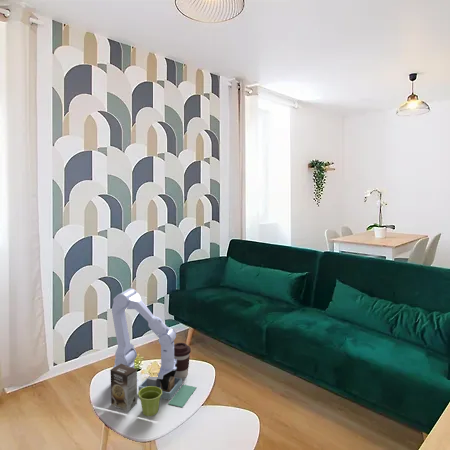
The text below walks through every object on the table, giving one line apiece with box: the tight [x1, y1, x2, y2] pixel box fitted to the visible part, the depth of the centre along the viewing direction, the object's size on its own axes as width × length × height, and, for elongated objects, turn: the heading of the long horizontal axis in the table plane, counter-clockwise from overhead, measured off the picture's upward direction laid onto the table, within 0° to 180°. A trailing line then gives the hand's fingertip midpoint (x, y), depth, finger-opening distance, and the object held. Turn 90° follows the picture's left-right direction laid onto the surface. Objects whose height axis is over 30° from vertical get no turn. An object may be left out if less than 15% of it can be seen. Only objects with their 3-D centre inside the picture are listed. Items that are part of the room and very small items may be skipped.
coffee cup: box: [174, 342, 192, 379], centre depth 178 cm, size 10×10×15 cm
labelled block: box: [161, 376, 175, 392], centre depth 165 cm, size 4×4×5 cm
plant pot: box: [137, 386, 162, 417], centre depth 151 cm, size 9×9×9 cm
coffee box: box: [109, 364, 138, 412], centre depth 154 cm, size 9×6×16 cm
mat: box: [168, 384, 197, 408], centre depth 162 cm, size 6×15×1 cm, turn 162°
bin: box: [138, 377, 183, 401], centre depth 167 cm, size 15×12×4 cm
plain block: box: [146, 375, 161, 387], centre depth 167 cm, size 4×4×5 cm
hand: (167, 385), depth 165 cm, fingers closed on labelled block, 4 cm apart
